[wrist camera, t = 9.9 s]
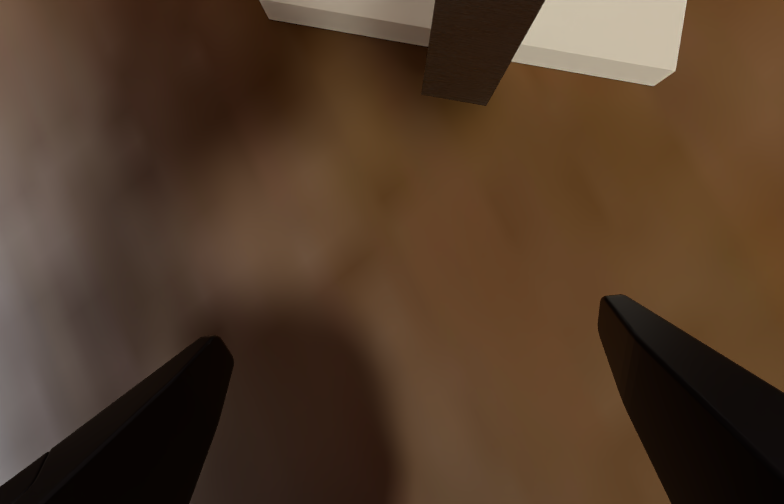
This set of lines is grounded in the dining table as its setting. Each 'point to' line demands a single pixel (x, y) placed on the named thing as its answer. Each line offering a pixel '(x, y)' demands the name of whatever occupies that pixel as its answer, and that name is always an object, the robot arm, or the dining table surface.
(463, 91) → the grey block
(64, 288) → the dining table surface
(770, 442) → the robot arm
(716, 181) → the dining table surface
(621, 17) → the white mounting stand
